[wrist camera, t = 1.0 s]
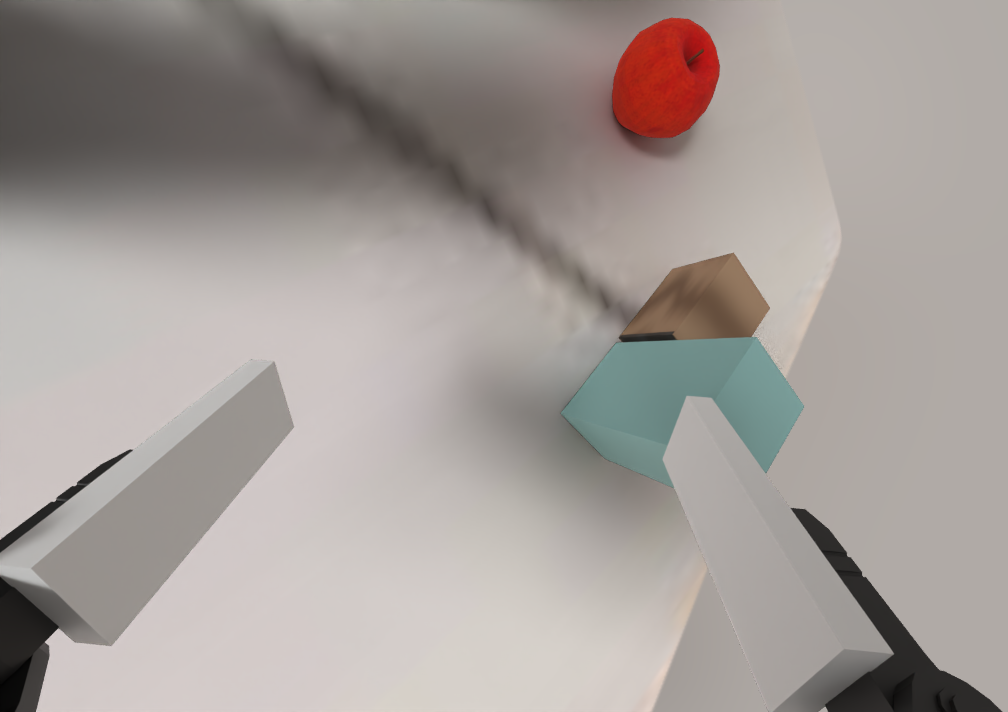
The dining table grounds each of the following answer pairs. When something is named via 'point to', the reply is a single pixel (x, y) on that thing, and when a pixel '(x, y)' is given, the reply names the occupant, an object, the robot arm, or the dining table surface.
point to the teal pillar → (681, 399)
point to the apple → (665, 79)
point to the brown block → (700, 304)
